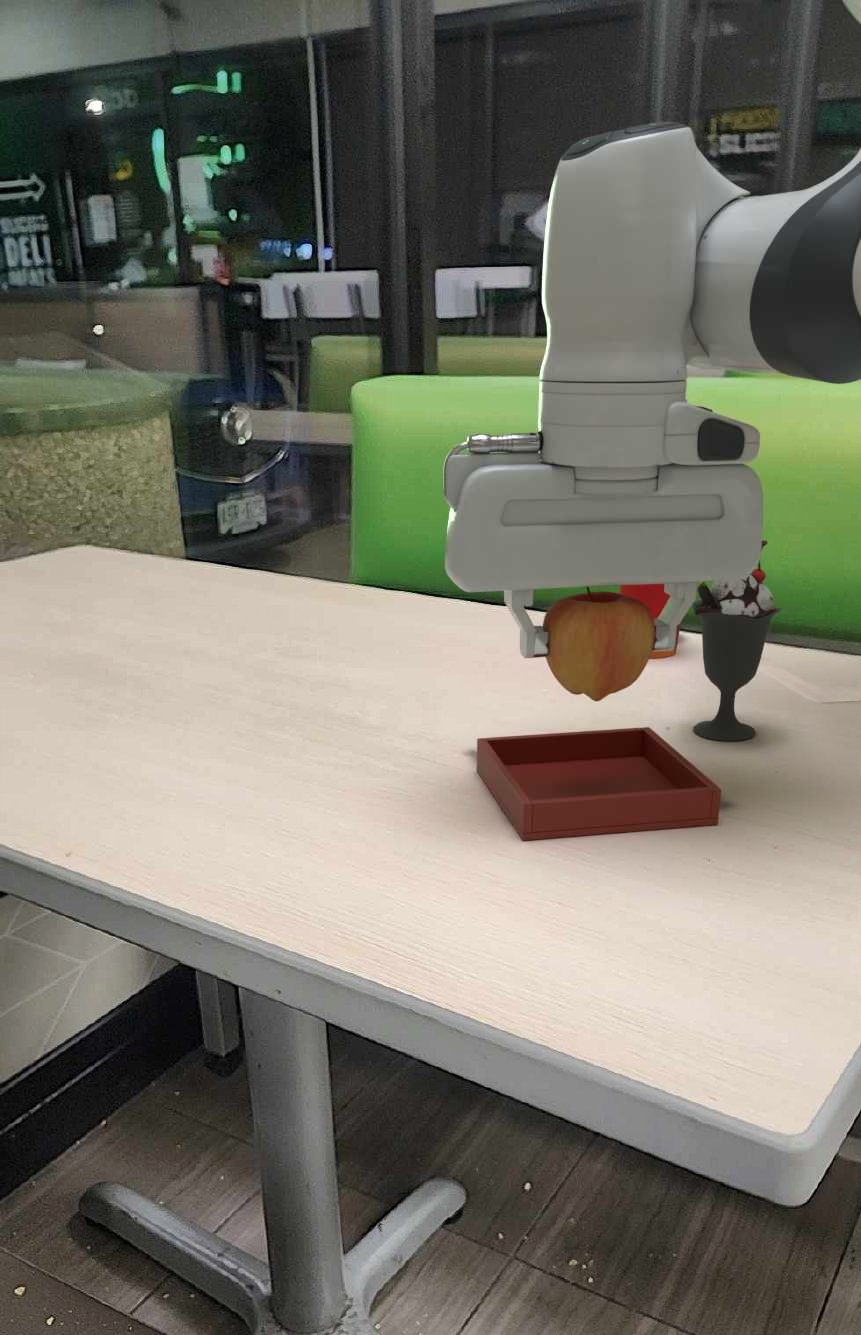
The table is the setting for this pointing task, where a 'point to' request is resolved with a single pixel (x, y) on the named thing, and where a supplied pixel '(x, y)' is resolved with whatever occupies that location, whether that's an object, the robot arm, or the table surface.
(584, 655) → the apple
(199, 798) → the table surface
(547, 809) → the red tray
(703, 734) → the sundae
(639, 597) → the paper cup
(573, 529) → the robot arm
